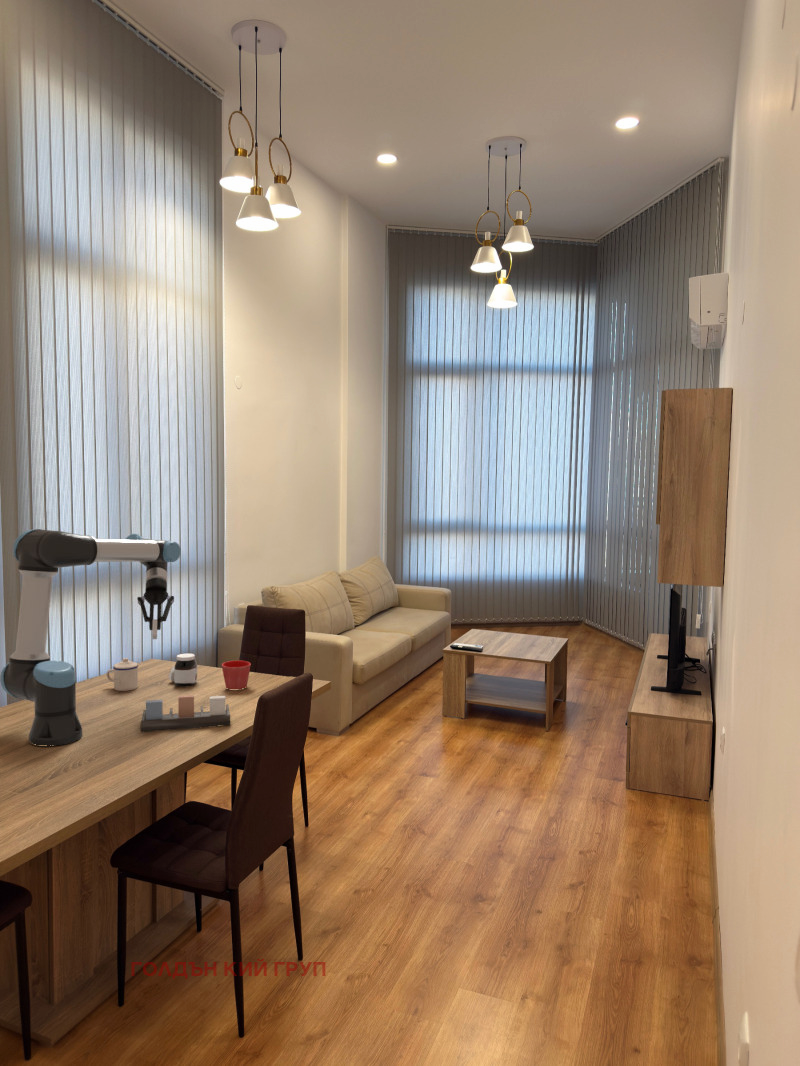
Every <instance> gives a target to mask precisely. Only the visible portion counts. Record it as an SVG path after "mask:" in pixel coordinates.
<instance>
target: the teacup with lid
mask: <svg viewBox="0 0 800 1066" xmlns="http://www.w3.org/2000/svg"><path fill="white" fill-rule="evenodd" d="M138 668H139V664H138V663H137V662H135V661H131V660H129V658H128V657H124V658H122V660H121V661H119V662H117V663H115V664H114V665H113V666H112V668H111V669H108V670H107V672H106V678H107V680H108V681H109V682H111V683H113V688H114V690H115V691H119V692H120V691H121V692H126V691H127V692H129V691H132V690H136V689H137V688H138V687H139V684H138V683H139V676H138V674H139V673H138V672H139V671H138ZM110 672H113V679H112V678H111V676H110Z"/></svg>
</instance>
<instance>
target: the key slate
mask: <svg viewBox="0 0 800 1066" xmlns="http://www.w3.org/2000/svg"><path fill="white" fill-rule="evenodd" d="M145 710H146V720H153V719H163V715H164V714H163V711H164V710H163V699H154V700H153V699H152V700H146V701H145Z"/></svg>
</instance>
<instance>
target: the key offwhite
mask: <svg viewBox="0 0 800 1066" xmlns="http://www.w3.org/2000/svg"><path fill="white" fill-rule="evenodd" d="M225 710H226V695H215V696H214V695H213V696H209V711H210V716H211V715H225Z"/></svg>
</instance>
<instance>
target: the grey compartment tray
mask: <svg viewBox="0 0 800 1066" xmlns="http://www.w3.org/2000/svg"><path fill="white" fill-rule="evenodd" d="M229 708H230V706H229V704H225V715H211V716H210V710H209V711H204V705H200V711H196V712H195V711H194V717H182V718H179V712H178V713H174V712H173V707H172V708H169V713H168V714H167V713H166V714H165V713H164V714H163V719H153V720H146V709H143V712H142V715H141V720H140V732H141V733H147V732H157V731H160V732H161V731H172V730H173V731H174V730H186V729H198V728H199V729H200V727H202V728H210V727H209V726H216V727H219V726H218V725H229V726H231V714H230V713H231V712H230V709H229Z"/></svg>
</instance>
